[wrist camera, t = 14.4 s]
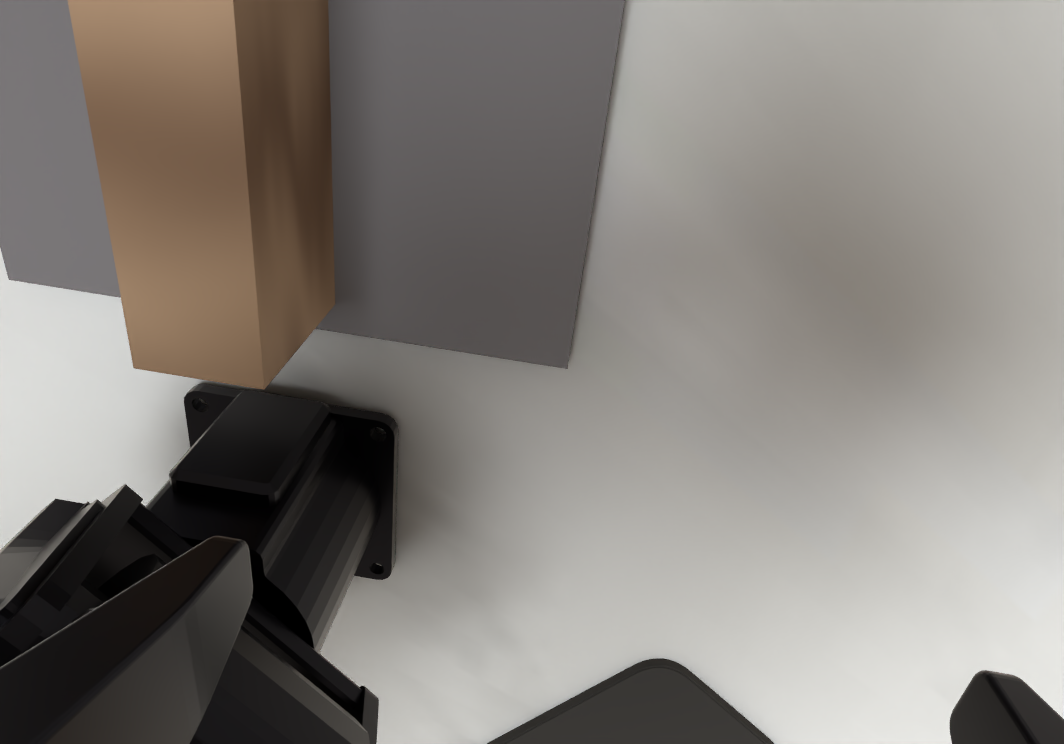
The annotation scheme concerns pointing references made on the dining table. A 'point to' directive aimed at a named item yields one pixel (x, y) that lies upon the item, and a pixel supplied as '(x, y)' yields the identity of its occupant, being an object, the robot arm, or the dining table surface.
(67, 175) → the tool mat
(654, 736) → the phone
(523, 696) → the dining table surface
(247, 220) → the t-shaped pusher tool
